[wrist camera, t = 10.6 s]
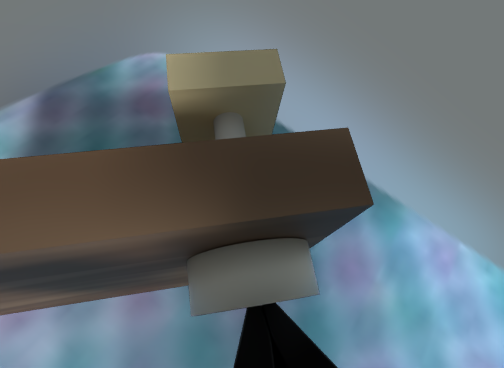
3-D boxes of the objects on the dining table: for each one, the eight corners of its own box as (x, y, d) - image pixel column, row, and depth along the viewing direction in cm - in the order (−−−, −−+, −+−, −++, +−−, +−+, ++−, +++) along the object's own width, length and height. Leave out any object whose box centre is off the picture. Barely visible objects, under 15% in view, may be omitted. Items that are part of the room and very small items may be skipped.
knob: (301, 296, 11) (339, 291, 7) (197, 314, 11) (182, 318, 7) (263, 114, 14) (277, 49, 11) (181, 121, 14) (165, 54, 10)
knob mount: (276, 271, 18) (373, 204, 6) (-45, 322, 16) (-886, 370, 4) (262, 197, 20) (318, 38, 8) (-26, 232, 18) (-554, 77, 6)
